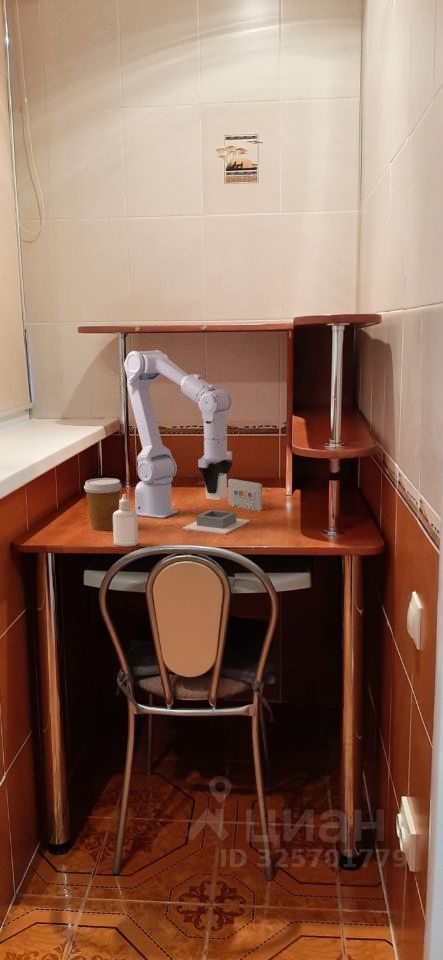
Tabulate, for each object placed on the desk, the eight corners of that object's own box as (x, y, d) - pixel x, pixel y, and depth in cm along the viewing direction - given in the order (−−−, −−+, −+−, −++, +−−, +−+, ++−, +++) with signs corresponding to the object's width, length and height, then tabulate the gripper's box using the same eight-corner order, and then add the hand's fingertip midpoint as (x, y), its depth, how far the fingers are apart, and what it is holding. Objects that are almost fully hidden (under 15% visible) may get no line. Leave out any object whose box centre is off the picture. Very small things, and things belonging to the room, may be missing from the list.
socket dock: (182, 529, 194) (182, 517, 194) (208, 517, 207) (208, 506, 206) (225, 534, 189) (225, 522, 188) (249, 521, 201) (249, 510, 201)
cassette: (263, 510, 214) (263, 483, 212) (259, 511, 212) (259, 484, 211) (231, 504, 222) (231, 478, 220) (226, 505, 220) (226, 479, 219)
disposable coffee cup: (106, 534, 190) (104, 486, 188) (77, 529, 195) (75, 482, 193) (131, 525, 198) (129, 480, 196) (102, 521, 203) (101, 476, 201)
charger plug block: (205, 498, 195) (205, 471, 194) (213, 495, 199) (212, 468, 198) (219, 499, 194) (219, 472, 192) (226, 496, 197) (226, 469, 196)
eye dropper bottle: (127, 548, 177) (125, 497, 175) (111, 544, 181) (109, 494, 179) (141, 544, 181) (139, 494, 178) (124, 540, 184) (123, 491, 182)
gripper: (216, 443, 185) (216, 498, 188) (242, 435, 198) (242, 487, 200) (190, 441, 188) (191, 495, 191) (218, 434, 201) (218, 485, 204)
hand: (216, 491), depth 196 cm, fingers closed on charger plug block, 4 cm apart
